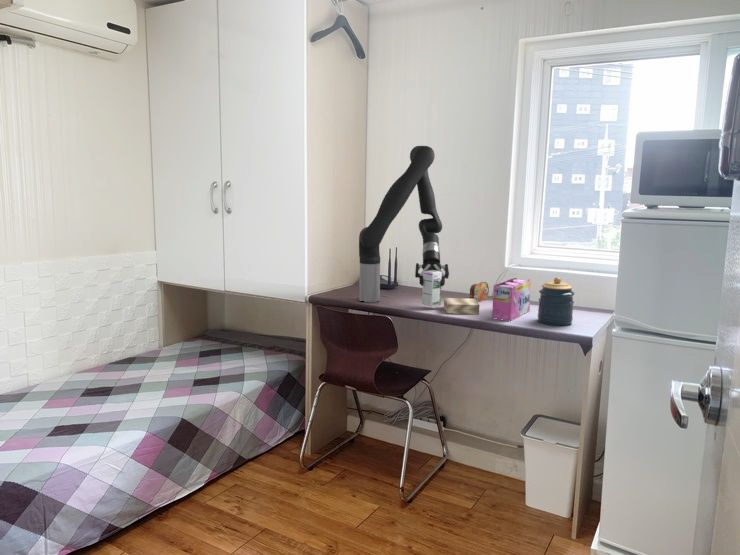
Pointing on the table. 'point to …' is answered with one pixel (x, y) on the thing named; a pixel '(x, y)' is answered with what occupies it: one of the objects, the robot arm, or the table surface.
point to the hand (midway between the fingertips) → (432, 285)
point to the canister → (556, 303)
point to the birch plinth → (461, 306)
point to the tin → (479, 291)
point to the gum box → (511, 299)
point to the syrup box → (431, 288)
